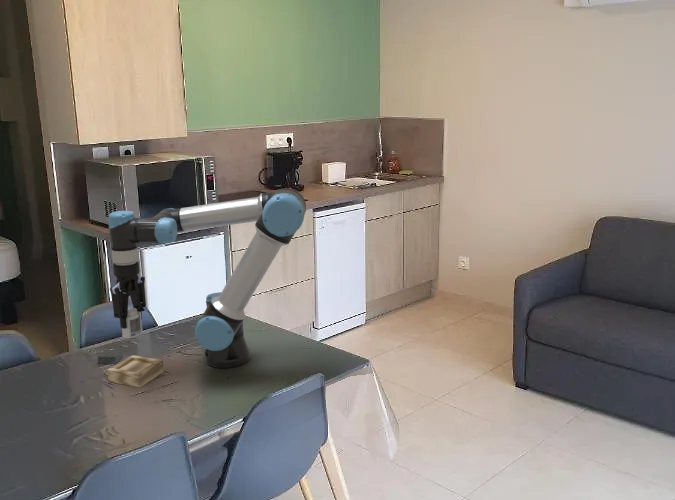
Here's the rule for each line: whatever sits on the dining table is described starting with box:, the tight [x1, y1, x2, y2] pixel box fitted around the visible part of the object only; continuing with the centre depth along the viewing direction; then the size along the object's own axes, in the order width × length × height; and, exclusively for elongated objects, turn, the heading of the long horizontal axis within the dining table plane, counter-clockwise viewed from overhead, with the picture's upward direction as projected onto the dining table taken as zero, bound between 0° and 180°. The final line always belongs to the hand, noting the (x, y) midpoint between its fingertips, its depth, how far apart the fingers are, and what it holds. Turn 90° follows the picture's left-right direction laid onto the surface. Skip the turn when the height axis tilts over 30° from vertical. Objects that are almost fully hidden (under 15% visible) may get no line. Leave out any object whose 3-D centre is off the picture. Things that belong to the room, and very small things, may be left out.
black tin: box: [97, 349, 124, 365], centre depth 216 cm, size 6×6×3 cm
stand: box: [106, 354, 165, 388], centre depth 204 cm, size 12×12×4 cm
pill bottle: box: [127, 307, 141, 338], centre depth 200 cm, size 5×5×8 cm
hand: (132, 334), depth 201 cm, fingers closed on pill bottle, 5 cm apart
